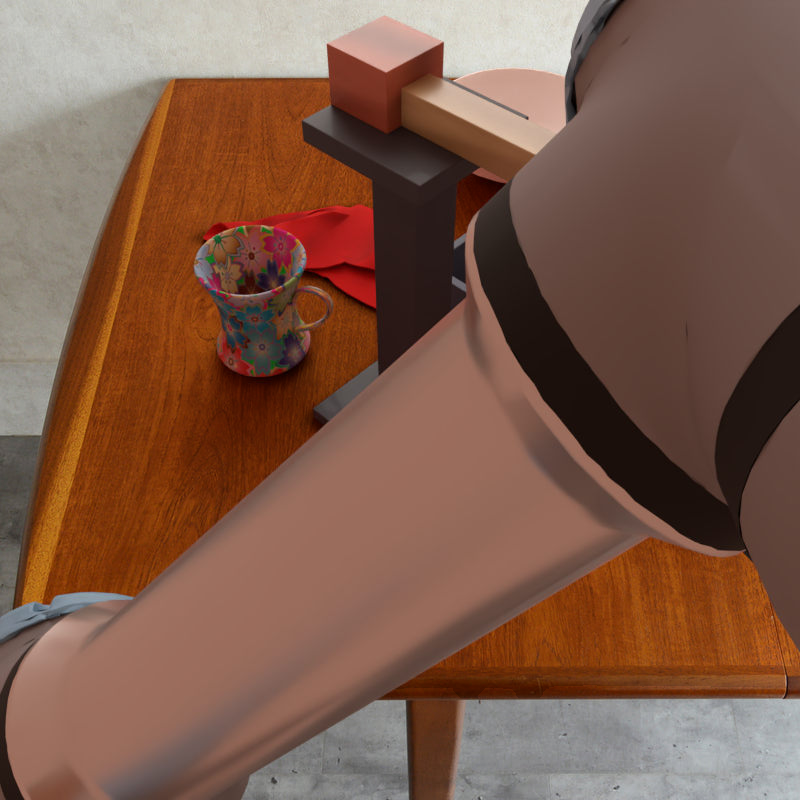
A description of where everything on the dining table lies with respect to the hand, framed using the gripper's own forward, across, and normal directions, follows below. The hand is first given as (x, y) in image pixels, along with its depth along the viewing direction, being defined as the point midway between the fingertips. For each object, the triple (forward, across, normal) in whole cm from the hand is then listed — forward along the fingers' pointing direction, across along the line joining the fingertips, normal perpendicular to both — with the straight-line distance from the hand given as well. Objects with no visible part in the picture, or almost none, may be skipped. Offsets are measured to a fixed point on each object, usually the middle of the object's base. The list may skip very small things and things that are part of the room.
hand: (649, 252), depth 48 cm
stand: (+1, 0, -32) cm, 33 cm away
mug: (+13, -3, -40) cm, 42 cm away
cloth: (+19, +11, -43) cm, 48 cm away
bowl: (+16, +35, -41) cm, 56 cm away
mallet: (+10, 0, -5) cm, 11 cm away
